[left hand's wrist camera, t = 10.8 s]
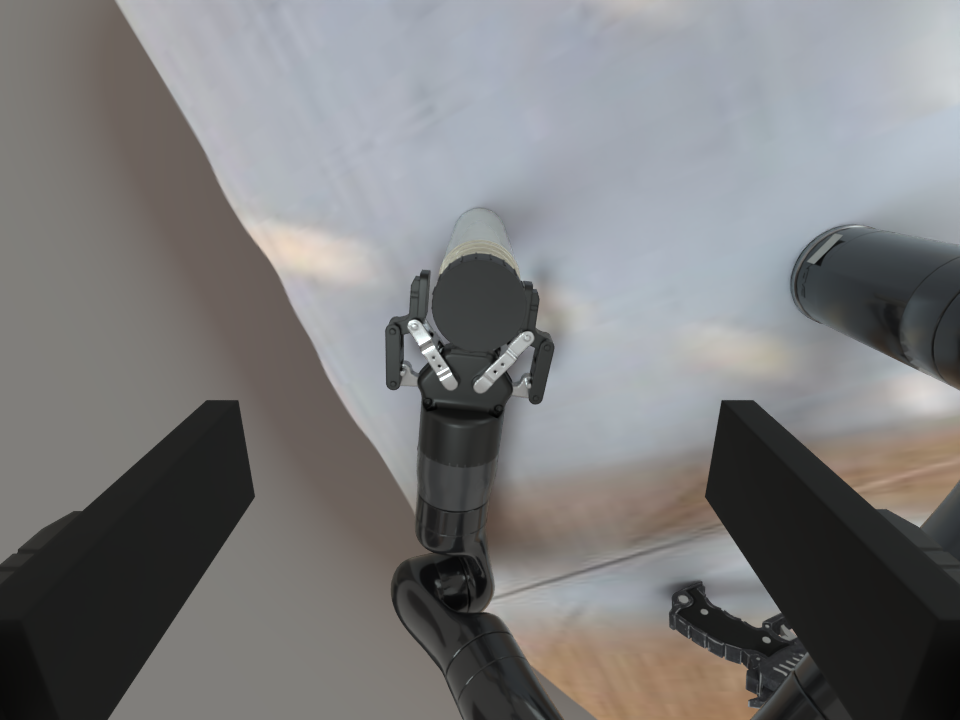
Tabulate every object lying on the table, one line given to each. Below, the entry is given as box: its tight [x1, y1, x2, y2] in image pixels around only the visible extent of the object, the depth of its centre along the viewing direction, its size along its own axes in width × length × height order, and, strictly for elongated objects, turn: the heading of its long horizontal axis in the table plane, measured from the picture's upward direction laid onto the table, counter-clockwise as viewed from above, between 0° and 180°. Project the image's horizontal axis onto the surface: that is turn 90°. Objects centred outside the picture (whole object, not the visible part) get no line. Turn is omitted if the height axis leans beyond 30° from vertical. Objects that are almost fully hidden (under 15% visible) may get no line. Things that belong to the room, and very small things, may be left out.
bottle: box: [439, 208, 520, 278], centre depth 38 cm, size 5×5×25 cm
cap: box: [432, 252, 527, 352], centre depth 27 cm, size 5×5×2 cm
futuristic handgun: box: [669, 582, 807, 709], centre depth 60 cm, size 4×29×15 cm, turn 98°
